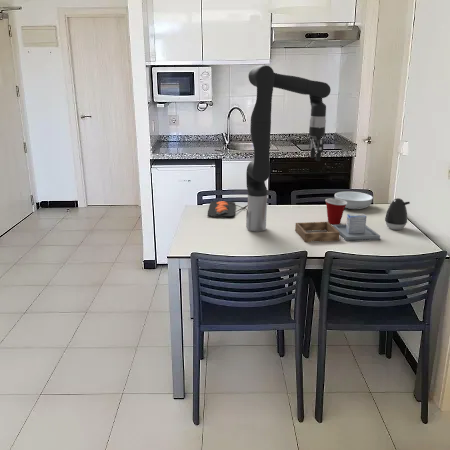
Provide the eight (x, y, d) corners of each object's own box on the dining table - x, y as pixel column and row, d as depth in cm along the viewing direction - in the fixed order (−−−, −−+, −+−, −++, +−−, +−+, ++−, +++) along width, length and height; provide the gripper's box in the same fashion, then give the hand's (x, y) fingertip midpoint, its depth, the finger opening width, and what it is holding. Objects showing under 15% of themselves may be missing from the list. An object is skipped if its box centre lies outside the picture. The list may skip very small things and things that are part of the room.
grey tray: (346, 241, 209) (346, 237, 209) (332, 228, 226) (332, 224, 226) (379, 239, 211) (380, 235, 211) (363, 227, 228) (364, 223, 228)
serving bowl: (358, 214, 250) (359, 202, 248) (326, 206, 264) (327, 195, 262) (378, 207, 263) (380, 196, 261) (347, 200, 278) (348, 189, 276)
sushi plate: (210, 204, 270) (210, 197, 269) (262, 205, 269) (262, 198, 268) (206, 219, 242) (206, 212, 241) (264, 220, 241) (264, 212, 240)
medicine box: (361, 230, 221) (363, 213, 218) (365, 233, 217) (366, 216, 214) (345, 231, 221) (347, 213, 218) (348, 234, 216) (350, 216, 214)
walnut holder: (304, 242, 208) (305, 233, 207) (295, 230, 223) (295, 222, 222) (339, 240, 210) (339, 232, 209) (327, 229, 225) (327, 221, 224)
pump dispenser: (402, 233, 221) (406, 202, 216) (381, 228, 227) (384, 198, 222) (409, 227, 228) (413, 198, 224) (388, 223, 234) (391, 194, 230)
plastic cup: (345, 227, 228) (348, 204, 225) (323, 226, 230) (325, 202, 227) (345, 221, 239) (347, 198, 235) (323, 219, 241) (325, 197, 237)
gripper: (305, 124, 228) (303, 157, 233) (314, 127, 215) (312, 162, 220) (320, 124, 229) (318, 156, 234) (330, 127, 216) (327, 161, 221)
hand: (315, 159), depth 227 cm, fingers open, 8 cm apart
